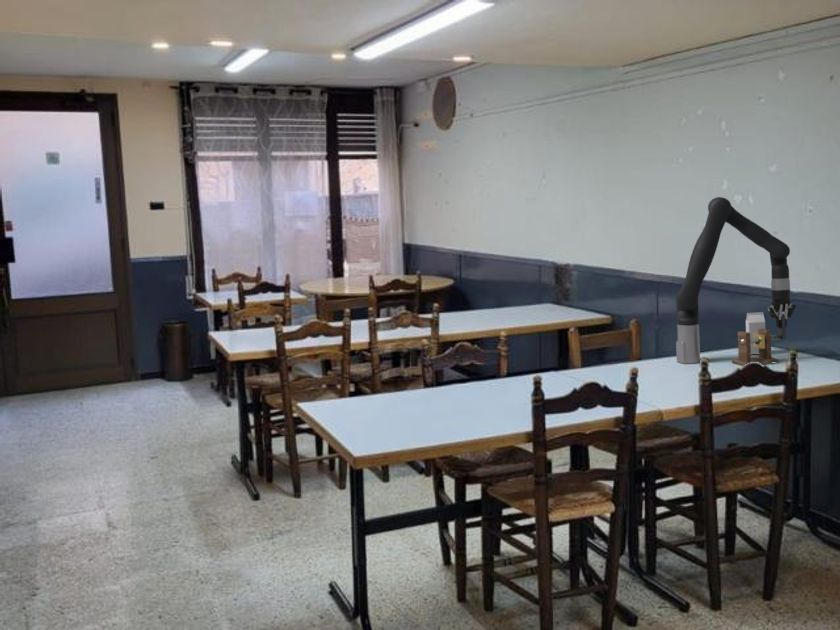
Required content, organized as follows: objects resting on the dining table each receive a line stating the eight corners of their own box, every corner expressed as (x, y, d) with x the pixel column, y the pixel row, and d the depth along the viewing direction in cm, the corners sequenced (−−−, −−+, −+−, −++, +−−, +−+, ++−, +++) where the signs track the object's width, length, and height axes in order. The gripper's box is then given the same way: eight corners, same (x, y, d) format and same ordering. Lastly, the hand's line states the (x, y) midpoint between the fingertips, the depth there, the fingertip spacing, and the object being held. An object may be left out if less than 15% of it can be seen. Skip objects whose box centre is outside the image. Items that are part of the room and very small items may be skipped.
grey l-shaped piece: (743, 344, 362) (742, 321, 360) (739, 343, 365) (738, 320, 363) (785, 339, 366) (785, 316, 365) (781, 338, 369) (780, 315, 368)
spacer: (761, 348, 362) (761, 335, 361) (753, 346, 368) (753, 333, 367) (764, 348, 362) (764, 334, 362) (756, 346, 368) (756, 332, 368)
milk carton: (766, 354, 382) (765, 313, 379) (749, 355, 383) (748, 314, 381) (762, 351, 389) (761, 311, 386) (746, 352, 390) (745, 312, 388)
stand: (745, 366, 359) (744, 334, 357) (732, 363, 369) (730, 331, 367) (778, 362, 362) (777, 330, 361) (764, 359, 372) (763, 327, 370)
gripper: (772, 290, 360) (773, 330, 362) (800, 287, 362) (801, 327, 365) (761, 289, 367) (762, 328, 369) (788, 286, 370) (789, 325, 372)
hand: (781, 327), depth 367 cm, fingers closed on grey l-shaped piece
